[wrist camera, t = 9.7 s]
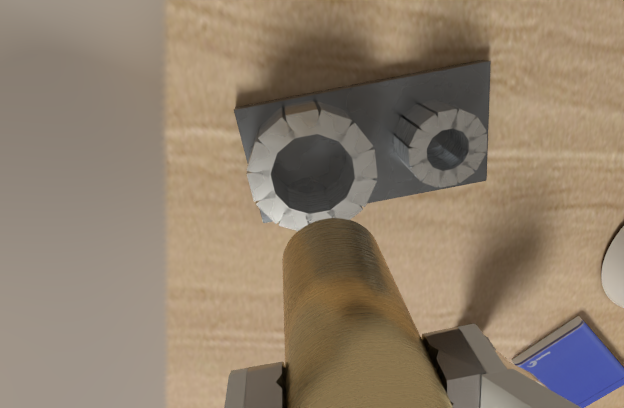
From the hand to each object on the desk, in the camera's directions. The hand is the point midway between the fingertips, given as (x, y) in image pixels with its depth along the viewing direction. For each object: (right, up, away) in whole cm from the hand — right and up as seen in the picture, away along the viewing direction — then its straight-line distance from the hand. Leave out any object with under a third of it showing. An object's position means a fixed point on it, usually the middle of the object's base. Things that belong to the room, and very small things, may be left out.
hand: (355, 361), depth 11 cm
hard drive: (+27, -13, +31) cm, 44 cm away
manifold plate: (+3, +9, +18) cm, 20 cm away
